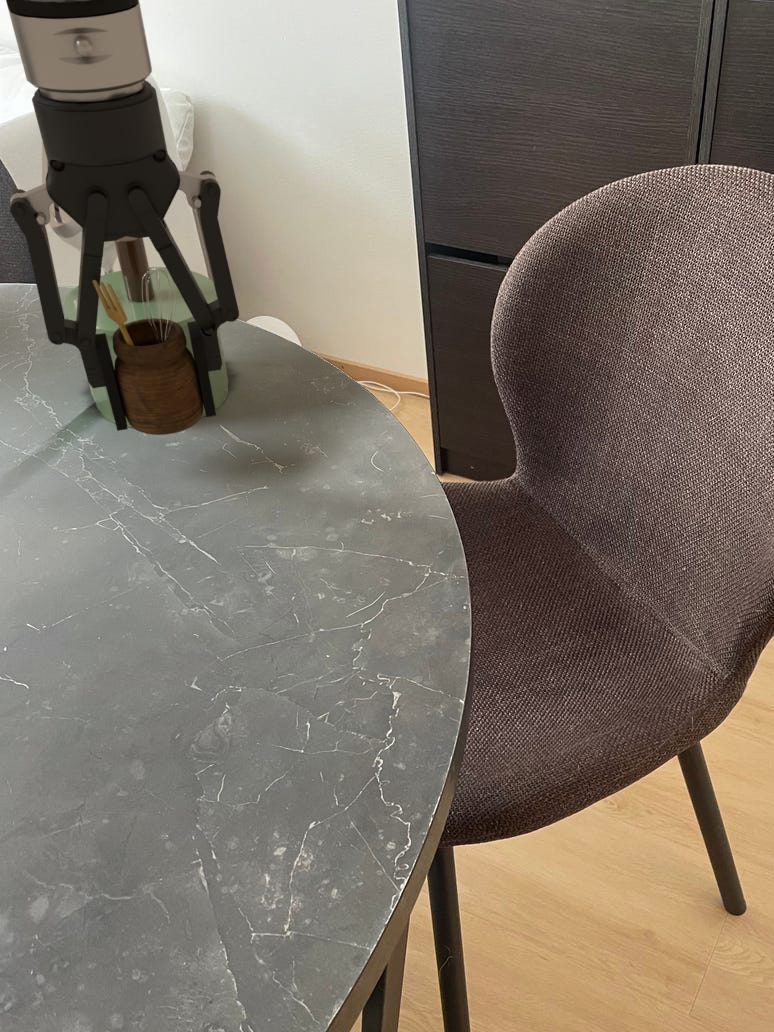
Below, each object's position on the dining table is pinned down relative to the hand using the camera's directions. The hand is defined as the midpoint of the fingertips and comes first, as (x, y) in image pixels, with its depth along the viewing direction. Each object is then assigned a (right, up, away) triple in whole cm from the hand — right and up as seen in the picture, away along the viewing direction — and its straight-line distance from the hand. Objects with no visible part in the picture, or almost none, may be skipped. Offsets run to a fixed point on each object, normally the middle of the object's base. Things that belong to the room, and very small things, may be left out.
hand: (165, 414), depth 80 cm
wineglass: (-10, +11, +19) cm, 24 cm away
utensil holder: (0, 0, 0) cm, 1 cm away
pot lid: (-4, +10, +6) cm, 12 cm away
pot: (-4, +4, +11) cm, 13 cm away
